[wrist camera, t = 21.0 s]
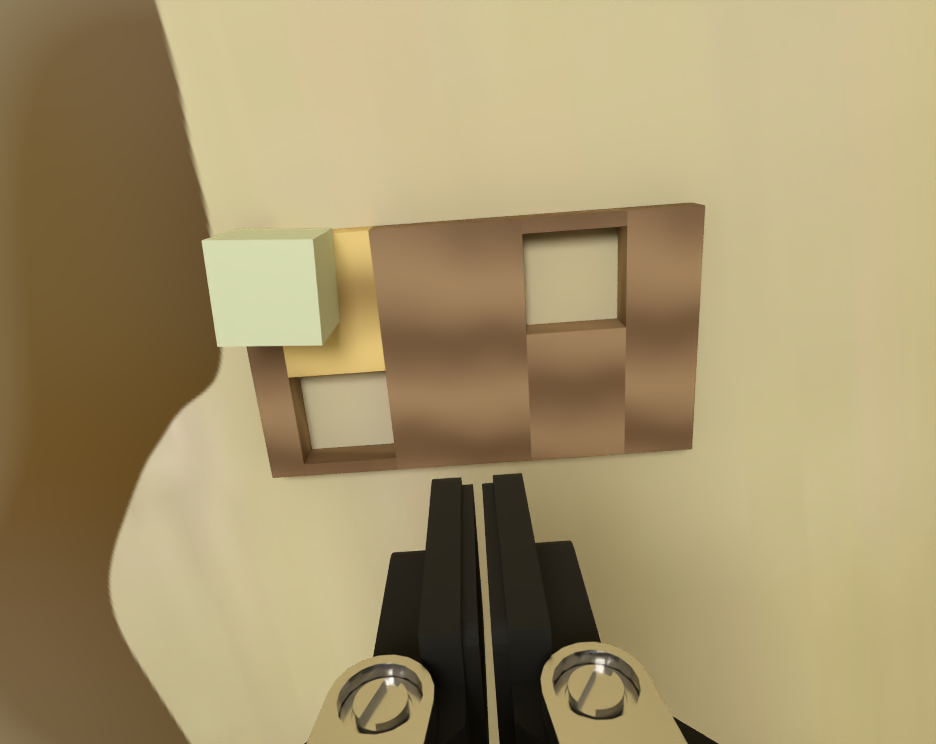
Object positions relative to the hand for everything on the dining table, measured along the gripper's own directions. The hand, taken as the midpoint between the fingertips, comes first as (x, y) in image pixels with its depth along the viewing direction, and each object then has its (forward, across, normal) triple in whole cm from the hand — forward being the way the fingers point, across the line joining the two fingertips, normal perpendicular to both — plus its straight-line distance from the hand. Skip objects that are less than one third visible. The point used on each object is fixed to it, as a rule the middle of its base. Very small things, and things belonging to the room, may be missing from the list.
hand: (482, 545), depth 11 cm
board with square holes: (+25, 0, +4) cm, 25 cm away
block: (+23, +10, -1) cm, 25 cm away
